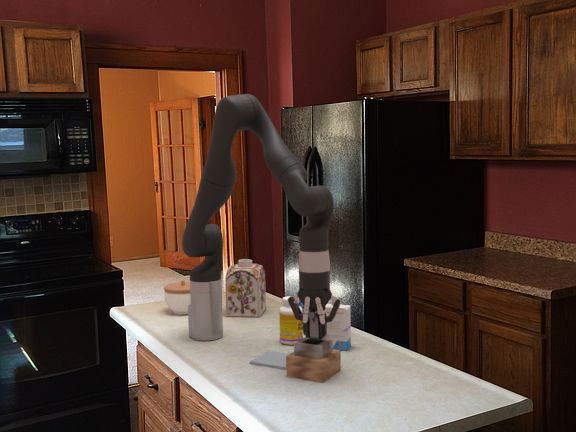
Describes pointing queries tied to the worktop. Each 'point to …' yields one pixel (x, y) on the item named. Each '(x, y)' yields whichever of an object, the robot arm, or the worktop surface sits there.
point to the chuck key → (314, 327)
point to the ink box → (339, 328)
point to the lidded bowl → (178, 297)
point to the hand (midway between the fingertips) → (315, 337)
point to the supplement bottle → (289, 324)
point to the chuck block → (313, 360)
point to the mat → (271, 359)
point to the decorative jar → (245, 289)
